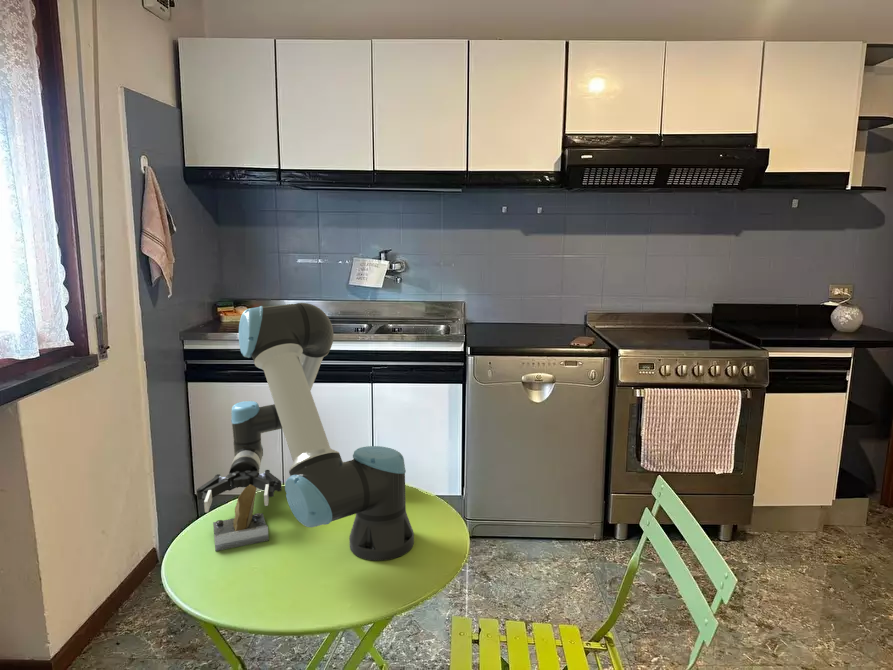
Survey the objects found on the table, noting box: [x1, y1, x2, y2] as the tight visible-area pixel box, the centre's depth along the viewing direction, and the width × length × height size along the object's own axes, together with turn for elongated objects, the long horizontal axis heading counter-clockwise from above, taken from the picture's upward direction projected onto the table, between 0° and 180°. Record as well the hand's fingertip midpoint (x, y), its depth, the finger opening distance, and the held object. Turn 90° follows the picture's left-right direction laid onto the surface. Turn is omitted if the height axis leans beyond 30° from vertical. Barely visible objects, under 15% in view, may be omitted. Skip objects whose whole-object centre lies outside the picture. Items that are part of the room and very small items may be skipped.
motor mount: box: [212, 512, 270, 552], centre depth 147 cm, size 12×12×4 cm
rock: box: [233, 484, 257, 531], centre depth 147 cm, size 11×9×10 cm
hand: (236, 503), depth 144 cm, fingers open, 13 cm apart
